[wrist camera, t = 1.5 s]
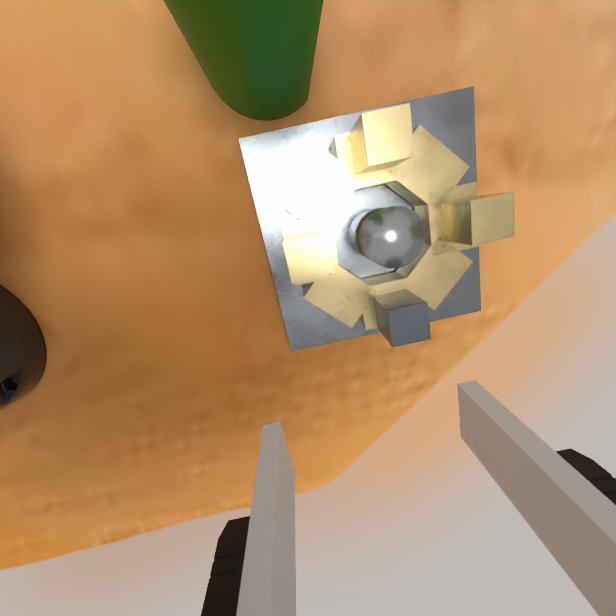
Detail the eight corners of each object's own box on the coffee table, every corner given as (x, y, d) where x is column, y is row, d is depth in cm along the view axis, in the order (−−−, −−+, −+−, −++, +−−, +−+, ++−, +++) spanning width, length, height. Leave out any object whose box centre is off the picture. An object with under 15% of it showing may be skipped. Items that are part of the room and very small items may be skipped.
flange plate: (291, 345, 32) (290, 385, 24) (241, 142, 26) (220, 112, 19) (472, 306, 32) (529, 334, 24) (463, 93, 26) (535, 41, 18)
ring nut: (306, 330, 30) (310, 364, 23) (267, 158, 25) (258, 136, 18) (462, 297, 30) (513, 321, 23) (453, 117, 25) (514, 79, 18)
